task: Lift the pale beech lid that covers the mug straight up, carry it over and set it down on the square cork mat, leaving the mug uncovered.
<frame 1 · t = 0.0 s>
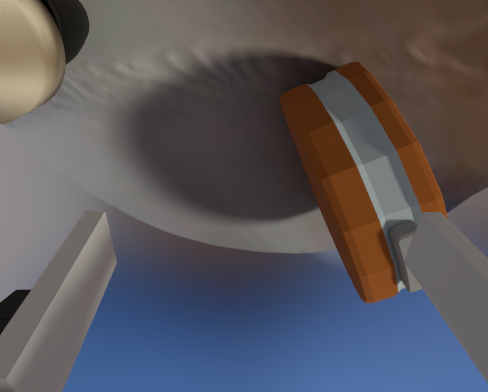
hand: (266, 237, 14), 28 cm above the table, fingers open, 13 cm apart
mug: (51, 31, 34), on the table, touching lid
alarm clock: (335, 143, 42), on the table
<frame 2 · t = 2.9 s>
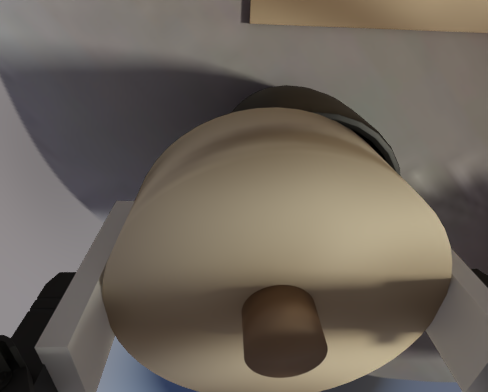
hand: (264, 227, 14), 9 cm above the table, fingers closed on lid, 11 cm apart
lid: (265, 234, 14), point 10 cm above the table, touching gripper, mug
mug: (251, 146, 22), on the table, touching gripper, lid
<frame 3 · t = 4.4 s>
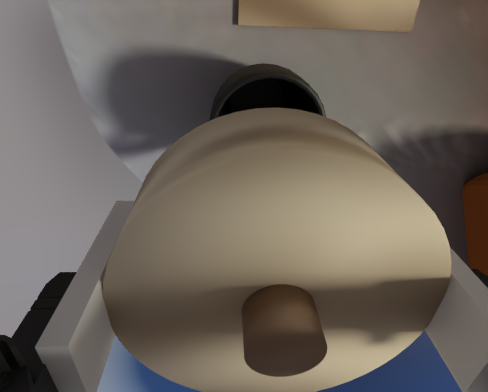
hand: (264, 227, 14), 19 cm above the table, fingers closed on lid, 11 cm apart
lid: (265, 233, 14), point 19 cm above the table, touching gripper
mug: (241, 112, 31), on the table
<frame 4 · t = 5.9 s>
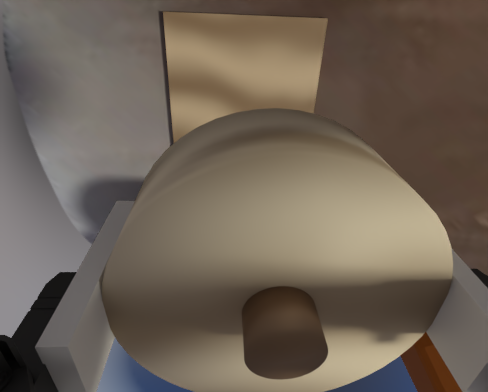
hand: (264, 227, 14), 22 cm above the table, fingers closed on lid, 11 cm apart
lid: (265, 235, 14), point 23 cm above the table, touching gripper
alarm clock: (406, 280, 49), on the table
mat: (243, 97, 33), on the table
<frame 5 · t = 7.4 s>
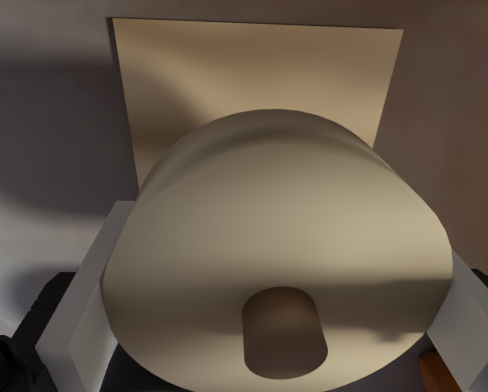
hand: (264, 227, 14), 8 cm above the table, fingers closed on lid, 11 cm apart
lid: (265, 235, 14), point 8 cm above the table, touching gripper
mug: (165, 308, 28), on the table
alarm clock: (468, 375, 36), on the table
mat: (253, 155, 21), on the table
when the fingers open (2 cm above the table, at t = 8.8 s): lid drops 3 cm, resting on mat.
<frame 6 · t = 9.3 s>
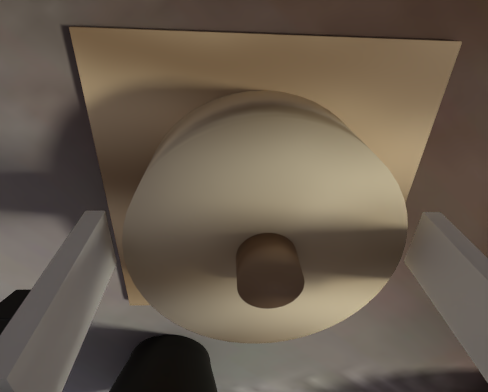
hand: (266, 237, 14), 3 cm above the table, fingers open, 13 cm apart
lid: (257, 202, 16), resting on mat
mug: (153, 366, 24), on the table
mat: (259, 197, 16), on the table
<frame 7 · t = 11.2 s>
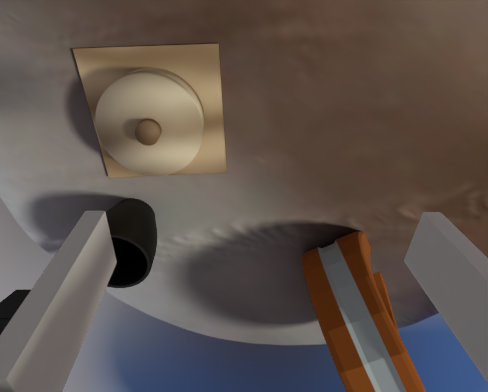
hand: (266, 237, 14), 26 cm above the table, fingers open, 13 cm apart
lid: (157, 117, 37), resting on mat
mug: (126, 222, 45), on the table
alarm clock: (346, 271, 52), on the table
mat: (158, 116, 37), on the table
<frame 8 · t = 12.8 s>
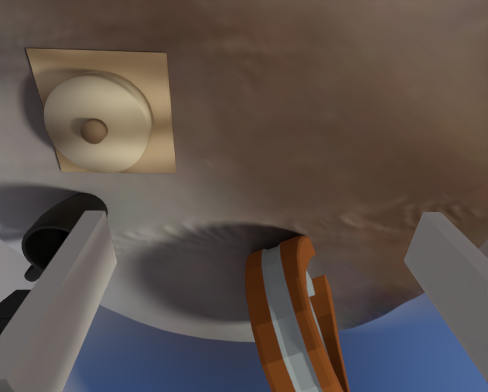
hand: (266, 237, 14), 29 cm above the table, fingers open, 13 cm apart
lid: (108, 118, 39), resting on mat
mug: (80, 215, 47), on the table
alarm clock: (292, 273, 55), on the table
mat: (110, 116, 39), on the table
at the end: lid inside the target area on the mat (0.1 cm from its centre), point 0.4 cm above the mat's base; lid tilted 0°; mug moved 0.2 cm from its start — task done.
